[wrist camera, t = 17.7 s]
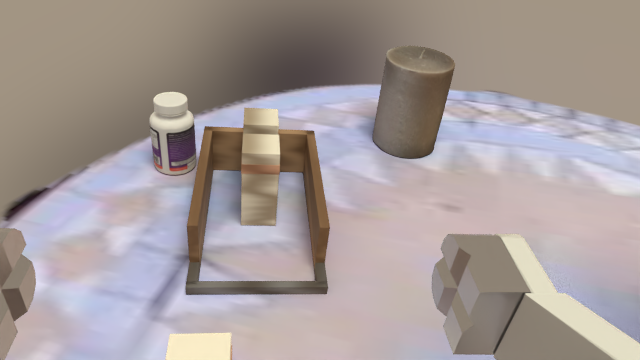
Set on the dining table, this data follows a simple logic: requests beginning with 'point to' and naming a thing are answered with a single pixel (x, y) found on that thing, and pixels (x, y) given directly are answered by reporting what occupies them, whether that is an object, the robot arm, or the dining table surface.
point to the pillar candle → (412, 100)
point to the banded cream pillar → (199, 346)
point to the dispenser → (258, 194)
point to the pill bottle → (172, 134)
